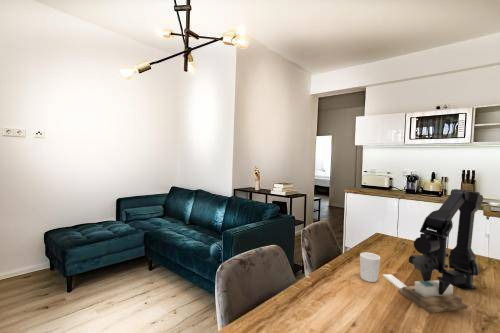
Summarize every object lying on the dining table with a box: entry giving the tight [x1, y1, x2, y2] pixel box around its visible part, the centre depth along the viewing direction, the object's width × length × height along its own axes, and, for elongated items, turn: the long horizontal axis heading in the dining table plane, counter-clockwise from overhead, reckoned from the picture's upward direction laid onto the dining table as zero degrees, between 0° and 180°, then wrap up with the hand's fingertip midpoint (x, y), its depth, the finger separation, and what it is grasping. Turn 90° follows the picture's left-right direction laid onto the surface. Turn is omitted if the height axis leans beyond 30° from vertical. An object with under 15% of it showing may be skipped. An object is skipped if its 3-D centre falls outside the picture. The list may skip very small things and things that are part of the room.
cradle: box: [397, 284, 468, 314], centre depth 98 cm, size 16×14×3 cm
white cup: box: [359, 251, 381, 283], centre depth 114 cm, size 8×8×10 cm
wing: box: [382, 273, 407, 289], centre depth 111 cm, size 4×12×1 cm, turn 4°
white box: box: [414, 279, 454, 298], centre depth 98 cm, size 12×4×5 cm, turn 99°
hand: (433, 290), depth 99 cm, fingers open, 5 cm apart
